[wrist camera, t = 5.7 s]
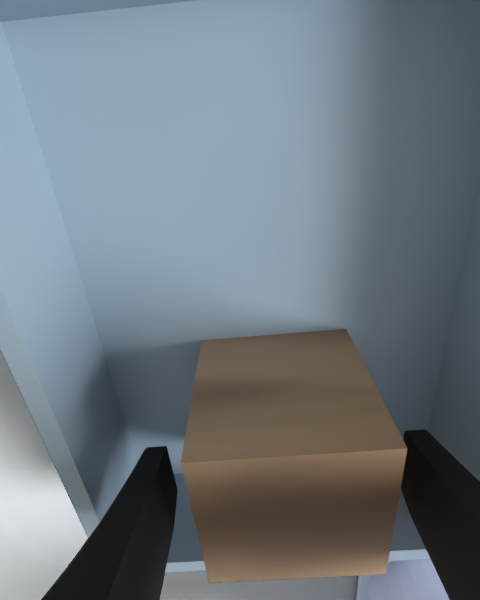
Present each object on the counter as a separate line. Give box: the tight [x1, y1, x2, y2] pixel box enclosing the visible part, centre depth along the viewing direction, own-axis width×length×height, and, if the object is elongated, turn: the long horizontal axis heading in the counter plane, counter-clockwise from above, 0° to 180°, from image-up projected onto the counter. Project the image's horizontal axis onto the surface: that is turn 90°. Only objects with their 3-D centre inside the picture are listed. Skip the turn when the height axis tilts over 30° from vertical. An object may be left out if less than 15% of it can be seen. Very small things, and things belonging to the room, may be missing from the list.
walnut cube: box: [181, 329, 407, 583], centre depth 11 cm, size 5×5×5 cm
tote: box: [0, 0, 480, 573], centre depth 10 cm, size 17×13×4 cm
